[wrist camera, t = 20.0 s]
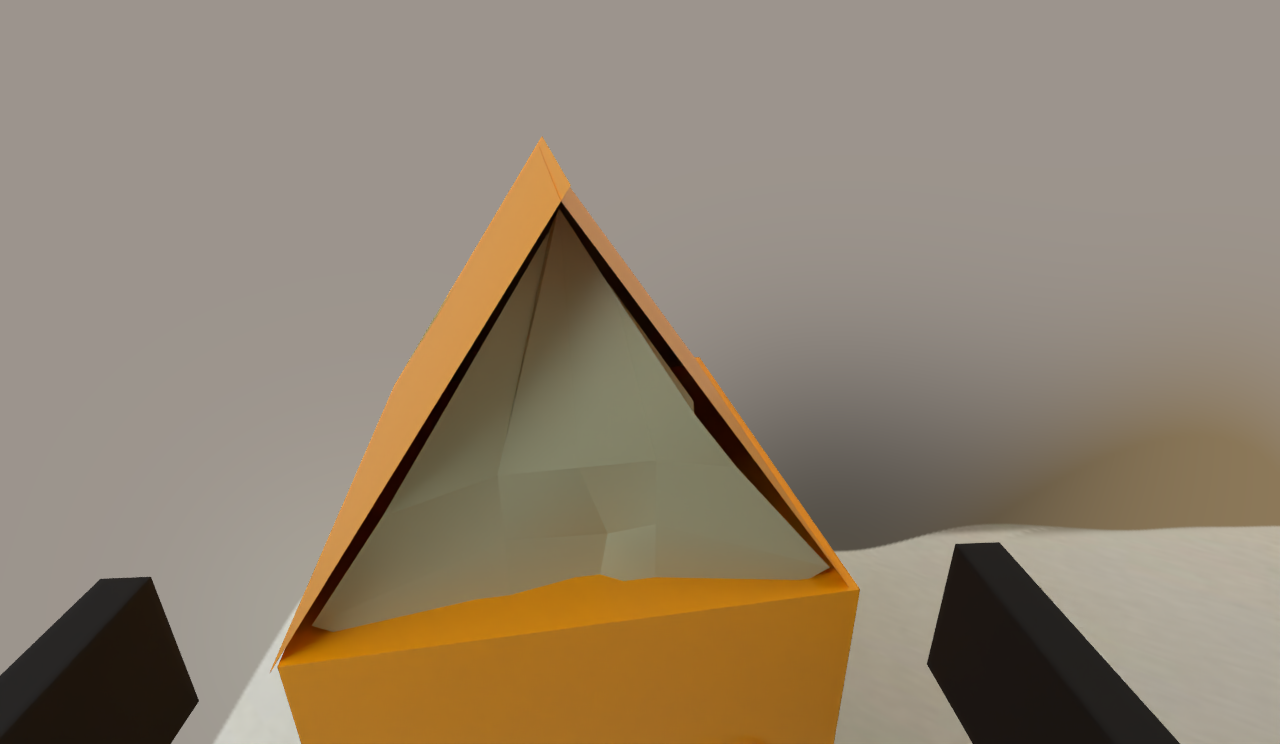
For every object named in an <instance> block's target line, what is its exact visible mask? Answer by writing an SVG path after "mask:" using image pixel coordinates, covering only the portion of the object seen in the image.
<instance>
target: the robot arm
mask: <svg viewBox="0 0 1280 744" xmlns="http://www.w3.org/2000/svg"><path fill="white" fill-rule="evenodd" d="M927 665H928V667H929V669H930V670H931V672H932V674H933V676H934V677H935V679H936V681H937V682H938V684H939V686H940V688H941V689H942V691H943V693H944V695H945V696H946V698H947V700H948V702H949V703H950V705H951V707H952V708H953V710H954V712H955V714H956V715H957V717H958V719H959V721H960V722H961V724H962V726H963V728H964V729H965V731H966V733H967V734H968V736H969V738H970V740H971V741H972V743H973V744H1180V743H1179V742H1178V741H1177V740H1176V739H1175V738H1174V736H1173V735H1172V734H1171V733H1170V732H1169V731H1168V730H1167V729H1166V728H1165V726H1164V725H1163V724H1162V723H1161V722H1160V721H1159V720H1158V719H1157V717H1156V716H1155V715H1154V714H1153V713H1152V712H1151V711H1150V710H1149V709H1148V707H1147V706H1146V705H1145V704H1144V703H1143V702H1142V701H1141V700H1140V699H1139V697H1138V696H1137V695H1136V694H1135V693H1134V692H1133V691H1132V690H1131V689H1130V687H1129V686H1128V685H1127V684H1126V683H1125V682H1124V681H1123V680H1122V679H1121V677H1120V676H1119V675H1118V674H1117V673H1116V672H1115V671H1114V670H1113V668H1112V667H1111V666H1110V665H1109V664H1108V663H1107V662H1106V661H1105V660H1104V658H1103V657H1102V656H1101V655H1100V654H1099V653H1098V652H1097V651H1096V650H1095V648H1094V647H1093V646H1092V645H1091V644H1090V643H1089V642H1088V641H1087V640H1086V638H1085V637H1084V636H1083V635H1082V634H1081V633H1080V632H1079V631H1078V630H1077V628H1076V627H1075V626H1074V625H1073V624H1072V623H1071V622H1070V621H1069V619H1068V618H1067V617H1066V616H1065V615H1064V614H1063V613H1062V612H1061V611H1060V609H1059V608H1058V607H1057V606H1056V605H1055V604H1054V603H1053V602H1052V601H1051V599H1050V598H1049V597H1048V596H1047V595H1046V594H1045V593H1044V592H1043V591H1042V589H1041V588H1040V587H1039V586H1038V585H1037V584H1036V583H1035V582H1034V581H1033V579H1032V578H1031V577H1030V576H1029V575H1028V574H1027V573H1026V572H1025V570H1024V569H1023V568H1022V567H1021V566H1020V565H1019V564H1018V563H1017V562H1016V560H1015V559H1014V558H1013V557H1012V556H1011V555H1010V554H1009V553H1008V552H1007V550H1006V549H1005V548H1004V547H1003V546H1002V545H1001V544H1000V543H999V542H996V543H971V544H955V548H954V552H953V556H952V561H951V565H950V569H949V573H948V578H947V582H946V586H945V590H944V594H943V599H942V603H941V607H940V611H939V615H938V620H937V624H936V628H935V632H934V637H933V641H932V645H931V649H930V653H929V658H928V662H927ZM198 702H199V700H198V697H197V695H196V692H195V690H194V687H193V684H192V682H191V679H190V677H189V674H188V672H187V669H186V666H185V664H184V661H183V659H182V656H181V654H180V651H179V649H178V646H177V644H176V641H175V638H174V635H173V633H172V630H171V628H170V625H169V622H168V620H167V618H166V615H165V612H164V610H163V607H162V604H161V602H160V599H159V597H158V594H157V592H156V589H155V586H154V584H153V581H152V579H151V577H137V578H112V579H100V580H99V581H98V582H97V583H96V584H95V585H94V586H93V587H92V588H91V589H90V590H89V591H88V592H86V593H85V594H84V595H83V596H82V597H81V598H80V599H79V600H78V601H77V602H76V603H75V604H74V605H73V606H72V607H71V608H70V609H69V610H68V611H67V612H66V613H65V614H64V615H63V616H62V617H61V618H60V619H58V620H57V621H56V622H55V623H54V624H53V625H52V626H51V627H50V628H49V629H48V630H47V631H46V632H45V633H44V634H43V635H42V636H41V637H40V638H39V639H38V640H37V641H36V642H35V643H34V644H33V645H32V646H31V647H30V648H28V649H27V650H26V651H25V652H24V653H23V654H22V655H21V656H20V657H19V658H18V659H17V660H16V661H15V662H14V663H13V664H12V665H11V666H10V667H9V668H8V669H7V670H6V671H5V672H4V673H2V674H1V676H0V744H171V742H172V741H173V739H174V738H175V736H176V735H177V733H178V732H179V730H180V729H181V727H182V726H183V724H184V723H185V721H186V720H187V718H188V717H189V715H190V714H191V712H192V711H193V709H194V708H195V706H196V705H197V703H198Z"/></svg>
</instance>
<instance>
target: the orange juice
mask: <svg viewBox="0 0 1280 744" xmlns="http://www.w3.org/2000/svg"><path fill="white" fill-rule="evenodd" d="M859 592H860V589H859V587H858V586H857V584H856V583H855V581H854V580H853V579H852V577H851V576H850V574H849V573H848V571H847V570H846V568H845V567H844V566H843V564H842V563H841V561H840V560H839V558H838V557H837V555H836V554H835V553H834V551H833V550H832V548H831V547H830V545H829V544H828V543H827V541H826V540H825V538H824V537H823V535H822V534H821V532H820V531H819V529H818V528H817V527H816V525H815V524H814V522H813V521H812V519H811V518H810V516H809V515H808V514H807V512H806V511H805V509H804V508H803V506H802V505H801V503H800V502H799V501H798V499H797V498H796V496H795V495H794V493H793V492H792V491H791V489H790V488H789V486H788V485H787V483H786V482H785V480H784V479H783V477H782V476H781V475H780V474H779V472H778V470H777V469H776V467H775V466H774V465H773V463H772V462H771V460H770V459H769V457H768V456H767V454H766V453H765V451H764V450H763V449H762V447H761V446H760V444H759V443H758V441H757V440H756V438H755V437H754V436H753V434H752V433H751V431H750V430H749V429H748V427H747V425H746V424H745V423H744V421H743V420H742V418H741V417H740V415H739V414H738V412H737V411H736V410H735V408H734V407H733V405H732V404H731V402H730V401H729V399H728V398H727V397H726V395H725V394H724V392H723V391H722V389H721V388H720V387H719V385H718V384H717V382H716V381H715V379H714V378H713V376H712V375H711V373H710V372H709V371H708V369H707V368H706V366H705V365H704V363H703V362H702V361H701V359H700V358H699V357H696V358H695V357H694V356H693V355H692V353H691V352H690V351H689V349H688V348H687V347H686V345H685V344H684V342H683V341H682V340H681V338H680V337H679V336H678V334H677V333H676V332H675V330H674V329H673V327H672V326H671V325H670V323H669V322H668V321H667V319H666V318H665V316H664V315H663V314H662V312H661V311H660V310H659V308H658V307H657V306H656V304H655V303H654V301H653V300H652V299H651V297H650V296H649V295H648V293H647V292H646V291H645V289H644V288H643V286H642V285H641V284H640V282H639V281H638V280H637V278H636V277H635V276H634V274H633V273H632V271H631V270H630V269H629V267H628V266H627V264H626V263H625V262H624V260H623V259H622V258H621V256H620V255H619V254H618V252H617V251H616V249H615V248H614V247H613V245H612V244H611V243H610V242H609V240H608V239H607V237H606V236H605V234H604V233H603V232H602V230H601V229H600V228H599V226H598V225H597V224H596V222H595V221H594V219H593V218H592V217H591V215H590V214H589V213H588V211H587V210H586V208H585V207H584V206H583V204H582V203H581V202H580V200H579V199H578V197H577V196H576V195H575V193H574V192H573V191H572V189H571V188H570V183H569V181H568V180H567V178H566V176H565V175H564V173H563V171H562V170H561V168H560V166H559V165H558V163H557V161H556V159H555V158H554V156H553V154H552V152H551V151H550V149H549V147H548V146H547V144H546V142H545V140H544V139H543V137H541V139H540V140H539V142H538V144H537V145H536V147H535V149H534V150H533V152H532V154H531V155H530V157H529V159H528V160H527V162H526V164H525V166H524V167H523V169H522V171H521V172H520V174H519V176H518V177H517V179H516V181H515V183H514V184H513V186H512V187H511V189H510V191H509V193H508V194H507V196H506V198H505V199H504V201H503V203H502V204H501V206H500V208H499V210H498V211H497V213H496V214H495V216H494V218H493V220H492V221H491V223H490V225H489V227H488V228H487V230H486V231H485V233H484V235H483V237H482V238H481V240H480V242H479V243H478V245H477V247H476V248H475V250H474V252H473V253H472V255H471V257H470V258H469V260H468V262H467V264H466V265H465V267H464V269H463V270H462V272H461V274H460V275H459V277H458V279H457V280H456V282H455V284H454V285H453V287H452V289H451V290H450V292H449V294H448V296H447V297H446V299H445V301H444V302H443V304H442V306H441V307H440V309H439V311H438V312H437V314H436V316H435V317H434V319H433V321H432V323H431V324H430V326H429V328H428V329H427V331H426V333H425V334H424V336H423V338H422V340H421V341H420V343H419V345H418V346H417V348H416V350H415V351H414V353H413V355H412V356H411V358H410V360H409V361H408V363H407V365H406V367H405V368H404V370H403V372H402V373H401V375H400V377H399V378H398V380H397V382H396V383H395V385H394V387H393V390H392V392H391V394H390V397H389V399H388V401H387V403H386V406H385V408H384V411H383V413H382V415H381V417H380V420H379V422H378V424H377V427H376V429H375V431H374V433H373V436H372V438H371V440H370V443H369V445H368V448H367V450H366V452H365V454H364V457H363V459H362V461H361V464H360V466H359V468H358V470H357V473H356V475H355V478H354V480H353V482H352V484H351V487H350V489H349V491H348V493H347V496H346V498H345V500H344V503H343V505H342V507H341V510H340V512H339V514H338V517H337V519H336V521H335V523H334V526H333V528H332V530H331V533H330V535H329V537H328V540H327V542H326V544H325V547H324V549H323V551H322V554H321V556H320V558H319V560H318V563H317V565H316V567H315V570H314V572H313V574H312V576H311V579H310V581H309V584H308V586H307V588H306V590H305V593H304V595H303V597H302V600H301V602H300V604H299V606H298V609H297V611H296V613H295V616H294V618H293V620H292V623H291V625H290V627H289V630H288V632H287V634H286V636H285V639H284V641H283V643H282V646H281V648H280V650H279V653H278V655H277V657H276V660H275V662H274V664H273V666H272V669H273V667H274V666H275V664H276V662H277V661H278V659H279V657H280V656H281V654H282V653H283V651H284V649H285V651H284V653H283V655H282V658H281V660H280V662H279V665H278V670H279V673H280V677H281V680H282V683H283V686H284V689H285V693H286V696H287V699H288V702H289V705H290V709H291V712H292V715H293V718H294V722H295V725H296V728H297V731H298V734H299V738H300V741H301V744H834V739H835V733H836V727H837V721H838V716H839V710H840V704H841V698H842V692H843V686H844V680H845V674H846V669H847V663H848V657H849V651H850V645H851V639H852V633H853V627H854V622H855V616H856V610H857V604H858V600H859V599H858V598H859ZM272 669H271V670H272ZM270 672H271V671H270ZM269 674H270V673H269Z"/></svg>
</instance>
